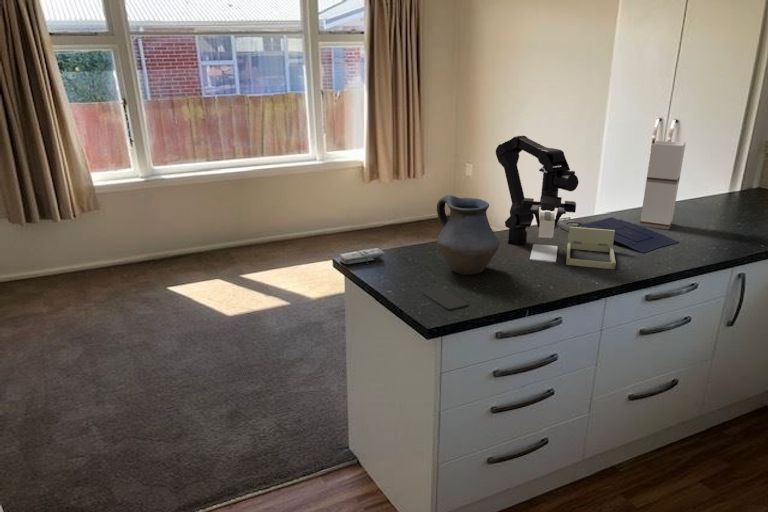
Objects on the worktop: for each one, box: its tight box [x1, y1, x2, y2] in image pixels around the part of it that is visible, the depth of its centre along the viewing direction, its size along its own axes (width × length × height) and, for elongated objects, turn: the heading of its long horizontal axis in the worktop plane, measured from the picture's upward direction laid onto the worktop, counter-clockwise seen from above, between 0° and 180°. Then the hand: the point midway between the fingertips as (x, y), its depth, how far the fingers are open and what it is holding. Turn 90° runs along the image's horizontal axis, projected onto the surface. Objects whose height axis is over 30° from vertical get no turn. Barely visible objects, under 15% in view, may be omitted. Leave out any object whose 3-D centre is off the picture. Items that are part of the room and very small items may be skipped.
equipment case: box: [565, 227, 617, 270], centre depth 206 cm, size 16×21×8 cm
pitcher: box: [436, 194, 500, 276], centre depth 191 cm, size 21×22×25 cm
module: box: [538, 211, 556, 239], centre depth 208 cm, size 5×12×7 cm, turn 165°
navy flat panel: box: [581, 216, 679, 254], centre depth 229 cm, size 24×30×4 cm
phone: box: [421, 287, 468, 311], centre depth 171 cm, size 7×1×15 cm
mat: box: [529, 243, 559, 263], centre depth 211 cm, size 9×18×1 cm, turn 162°
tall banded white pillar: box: [639, 140, 686, 230], centre depth 242 cm, size 11×11×35 cm
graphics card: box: [555, 216, 586, 232], centre depth 240 cm, size 17×4×12 cm
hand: (546, 228), depth 208 cm, fingers closed on module, 5 cm apart
